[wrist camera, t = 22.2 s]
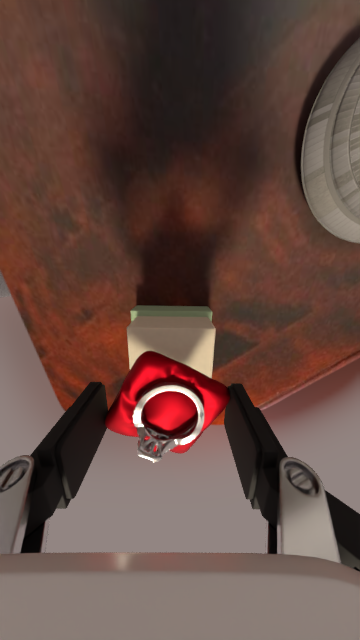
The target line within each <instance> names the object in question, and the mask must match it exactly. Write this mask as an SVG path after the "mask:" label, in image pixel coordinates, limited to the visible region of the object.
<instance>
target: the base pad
mask: <svg viewBox="0 0 360 640" xmlns="http://www.w3.org/2000/svg"><path fill="white" fill-rule="evenodd" d="M137 316H168V317H208V318H209V319H210V321H211V323H212V311H211V310H210V308H209V307H208V306H142V305H137V306H136V307H134V308H133V309H132V310H131V322H132V321H133V320H134V319H135V318H136V317H137Z"/></svg>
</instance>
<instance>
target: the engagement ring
mask: <svg viewBox="0 0 360 640" xmlns="http://www.w3.org/2000/svg"><path fill="white" fill-rule="evenodd" d="M229 400H230V393H229V389H228V388H227V387H226V386H225V385H224V384H222V383H220V382H218V381H216V380H213V379H211V378H210V377H208V376H206V375H204V374H203V373H201V372H199V371H197V370H195V369H193V368H191V367H189V366H188V365H186V364H183V363H181V362H178V361H176V360H173V359H171V358H169V357H167V356H165V355H162V354H160V353H157V352H155V351H146V352H144V353H142V354H141V355H140V356H139V357H138V358H137V359H136V361H135V363H134V364H133V366H132V368H131V370H130V371H129V373H128V375H127V376H126V378H125V380H124V382H123V384H122V387H121V389H120V391H119V393H118V395H117V397H116V398H115V400H114V402H113V404H112V406H111V407H110V409H109V411H108V412H107V415H106V419H105V425H106V427H107V428H108V429H110V430H111V431H114V432H116V433H119V434H122V435H125V436H134V437H139V441H138V447H137V450H138V457H140V456H142V457H145V458H147V459H150V460H152V462H153V463H154V462H157V461H160V460H161V459H162V455H163V454H165V452H168V451H172V452H175V453H184V452H186V451H188V450H189V448H190V447H191V446H192V445H193V444H194V443H195V442H196V440H197V439H198V438H199V437H200V436H201V434H202V433H203V431H204V430H205V429H206V428H207V427H209V426H210V424H211V423H212V422H213V421H214V420H215V419H216V417H217V416H218V415H219V414H220V413H221V412H222V411H223V410H224V409H225V407H226V406H227V404H228V402H229ZM145 438H147V439H145ZM157 445H158V450H157V451H156V446H157Z"/></svg>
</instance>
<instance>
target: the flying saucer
mask: <svg viewBox="0 0 360 640" xmlns="http://www.w3.org/2000/svg"><path fill="white" fill-rule="evenodd" d="M301 177H302V185H303V190H304V194H305V197H306V200H307V203H308V205H309V207H310V209H311V211H312V213H313V215H314V216H315V218H316V219H317V220H318V222H319V223H320V224H321V225H322V226H323V227H324V228H325V229H326V230H328V231H329V232H330V233H332V234H333V235H335V236H337V237H339V238H341V239H343V240H346V241H350V242H355V243H360V38H359V39H358V40H357V41H356V42H355V43H354V44H353V45H352V46H351V47H350V48H349V49H348V50H347V51H346V52H345V54H344V55H343V56H342V57H341V58H340V60H339V61H338V62H337V64H336V65H335V67H334V68H333V69H332V71H331V72H330V74H329V76H328V77H327V79H326V81H325V82H324V84H323V86H322V88H321V90H320V92H319V94H318V96H317V98H316V100H315V102H314V105H313V107H312V110H311V113H310V116H309V119H308V122H307V125H306V129H305V134H304V138H303V144H302V152H301Z"/></svg>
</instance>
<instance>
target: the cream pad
mask: <svg viewBox="0 0 360 640" xmlns="http://www.w3.org/2000/svg"><path fill="white" fill-rule="evenodd" d="M215 330H216V329H215V327H214V326H213V324H212V323H211V321H210V319H209V318H208V317H168V316H137V317H136V318H135V319H134V320H133V321H132V322H131V324H130V325H129V326H128V327H127V338H128V350H129V363H130V370H131V368H132V366H133V364H134V363H135V361H136V359H137V358H138V357H139V356H140V355H141V354H142V353H144V352H146V351H155V352H157V353H160V354H162V355H165V356H167V357H169V358H171V359H173V360H176V361H178V362H181V363H183V364H186V365H188V366H189V367H191V368H193V369H195V370H197V371H199V372H201V373H203V374H204V375H206V376H208V377H210V378H211V379H212V367H213V355H214V343H215Z"/></svg>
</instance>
